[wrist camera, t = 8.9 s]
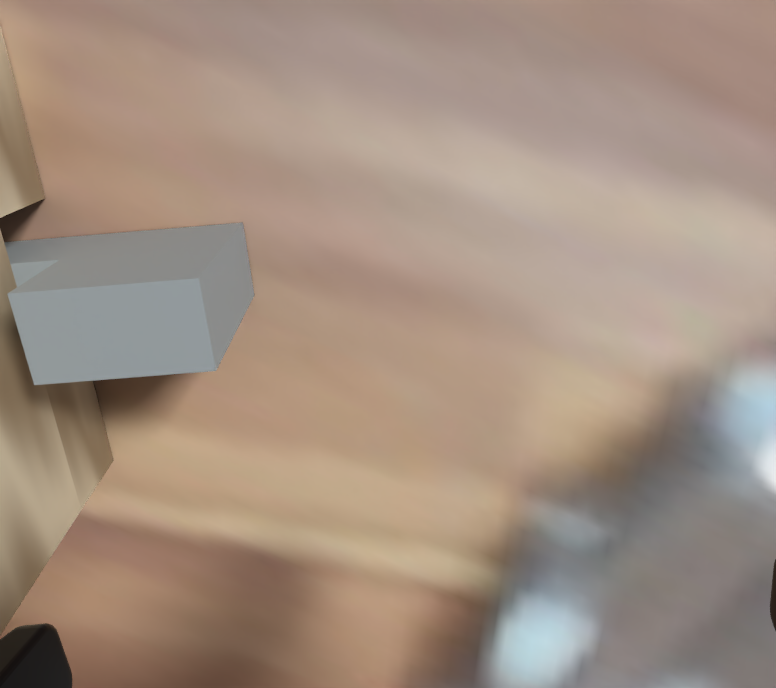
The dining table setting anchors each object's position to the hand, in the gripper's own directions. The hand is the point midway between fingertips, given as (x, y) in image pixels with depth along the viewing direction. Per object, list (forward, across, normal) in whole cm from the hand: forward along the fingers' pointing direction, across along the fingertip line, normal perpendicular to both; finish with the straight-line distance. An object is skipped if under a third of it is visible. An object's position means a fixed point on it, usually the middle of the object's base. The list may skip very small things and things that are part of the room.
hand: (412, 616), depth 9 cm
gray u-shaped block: (+12, +10, -2) cm, 15 cm away
